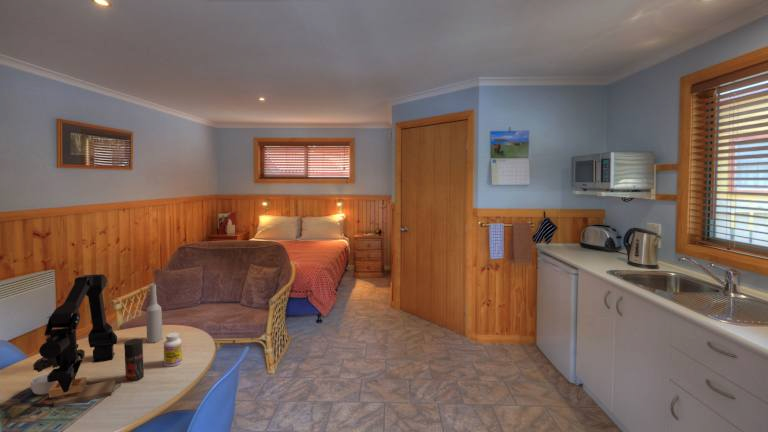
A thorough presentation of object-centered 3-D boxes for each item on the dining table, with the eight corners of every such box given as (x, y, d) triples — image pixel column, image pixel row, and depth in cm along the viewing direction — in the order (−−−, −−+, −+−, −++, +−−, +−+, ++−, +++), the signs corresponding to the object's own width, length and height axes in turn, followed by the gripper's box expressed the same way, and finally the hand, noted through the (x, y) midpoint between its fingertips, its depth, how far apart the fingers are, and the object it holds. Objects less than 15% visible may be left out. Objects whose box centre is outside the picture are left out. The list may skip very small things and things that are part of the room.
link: (86, 383, 135) (86, 376, 135) (82, 391, 130) (82, 384, 130) (55, 388, 131) (54, 382, 131) (49, 397, 126) (48, 390, 126)
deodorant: (147, 375, 147) (146, 339, 145) (132, 383, 141) (131, 346, 140) (136, 373, 149) (135, 337, 147) (122, 380, 143) (120, 343, 142)
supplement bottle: (163, 368, 153) (162, 338, 152) (165, 361, 159) (164, 332, 158) (181, 365, 155) (180, 336, 154) (182, 358, 161) (182, 330, 160)
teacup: (37, 399, 130) (36, 385, 129) (26, 394, 133) (25, 379, 132) (71, 385, 139) (70, 372, 138) (60, 380, 142) (59, 367, 141)
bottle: (150, 344, 175) (148, 287, 172) (144, 340, 178) (142, 285, 176) (165, 339, 180) (163, 284, 178) (158, 336, 184) (156, 282, 181)
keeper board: (115, 383, 141) (115, 379, 141) (111, 395, 133) (111, 391, 133) (62, 393, 133) (61, 389, 133) (53, 407, 125) (53, 403, 125)
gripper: (45, 339, 133) (48, 380, 135) (24, 361, 117) (28, 407, 118) (83, 334, 139) (86, 373, 140) (69, 354, 122) (72, 399, 124)
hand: (68, 387), depth 130 cm, fingers closed on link, 6 cm apart
